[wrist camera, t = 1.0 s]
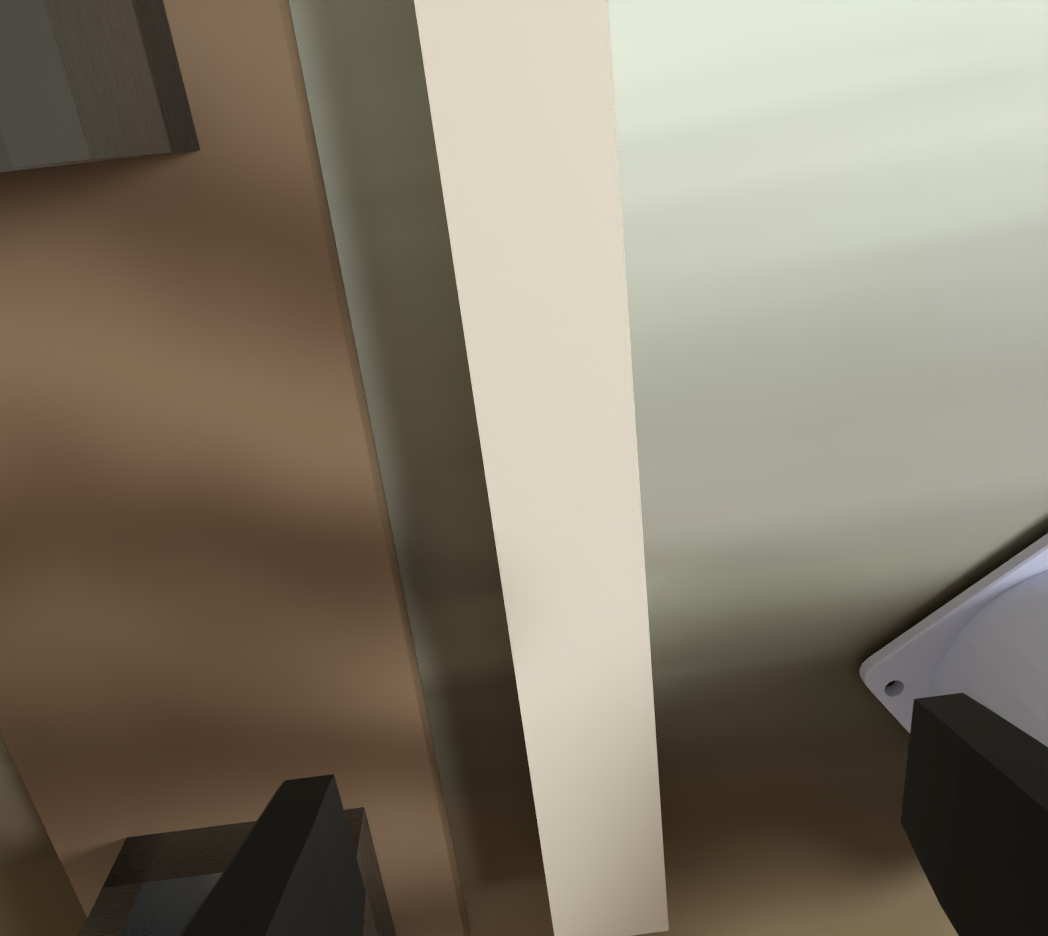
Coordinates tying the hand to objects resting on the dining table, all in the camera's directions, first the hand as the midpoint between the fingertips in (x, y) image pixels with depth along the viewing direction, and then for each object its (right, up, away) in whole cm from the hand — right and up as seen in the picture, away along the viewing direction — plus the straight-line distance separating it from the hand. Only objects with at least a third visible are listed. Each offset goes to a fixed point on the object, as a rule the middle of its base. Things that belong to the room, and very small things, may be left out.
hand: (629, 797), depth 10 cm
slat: (-1, +4, +9) cm, 10 cm away
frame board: (-10, +3, +9) cm, 13 cm away
